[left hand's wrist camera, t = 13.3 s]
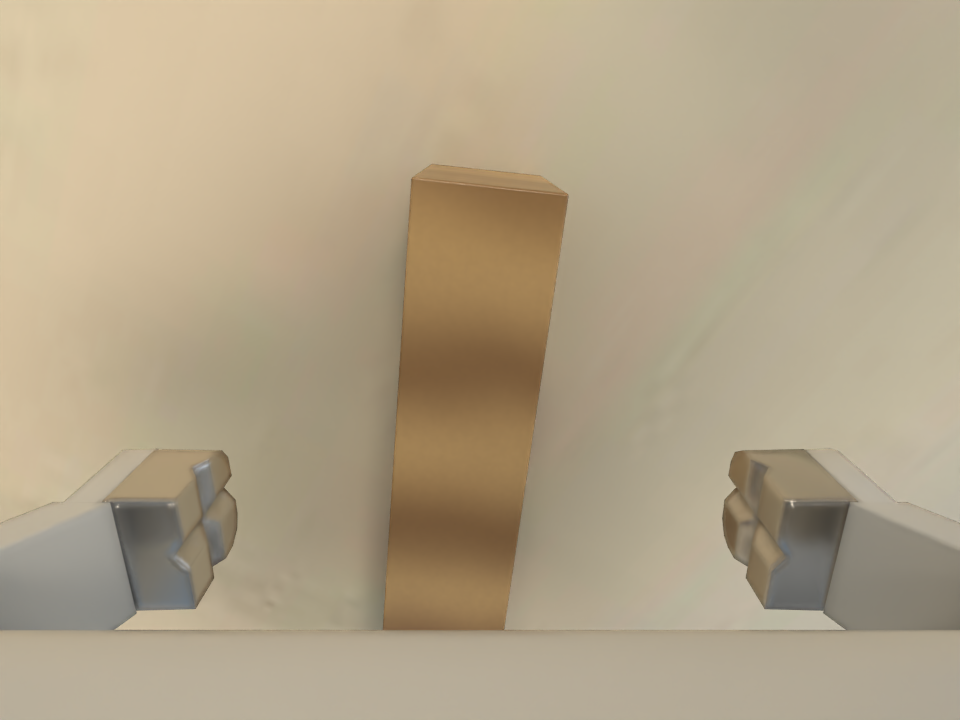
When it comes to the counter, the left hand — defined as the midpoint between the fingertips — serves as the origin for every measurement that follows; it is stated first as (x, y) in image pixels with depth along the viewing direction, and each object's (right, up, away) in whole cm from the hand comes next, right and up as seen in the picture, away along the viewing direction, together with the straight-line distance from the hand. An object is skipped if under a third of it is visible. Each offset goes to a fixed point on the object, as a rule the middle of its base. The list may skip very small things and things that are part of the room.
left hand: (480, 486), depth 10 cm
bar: (-1, -1, +24) cm, 24 cm away
